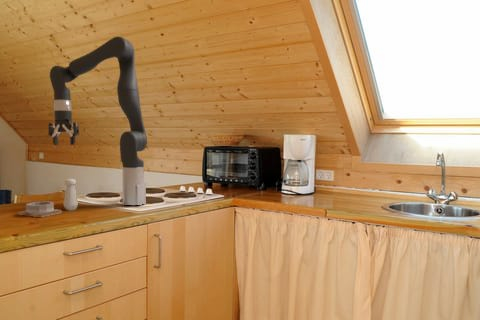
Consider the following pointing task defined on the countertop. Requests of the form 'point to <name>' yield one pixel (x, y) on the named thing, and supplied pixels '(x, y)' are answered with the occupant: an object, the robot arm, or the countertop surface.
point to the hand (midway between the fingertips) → (64, 145)
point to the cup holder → (40, 209)
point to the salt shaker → (70, 195)
